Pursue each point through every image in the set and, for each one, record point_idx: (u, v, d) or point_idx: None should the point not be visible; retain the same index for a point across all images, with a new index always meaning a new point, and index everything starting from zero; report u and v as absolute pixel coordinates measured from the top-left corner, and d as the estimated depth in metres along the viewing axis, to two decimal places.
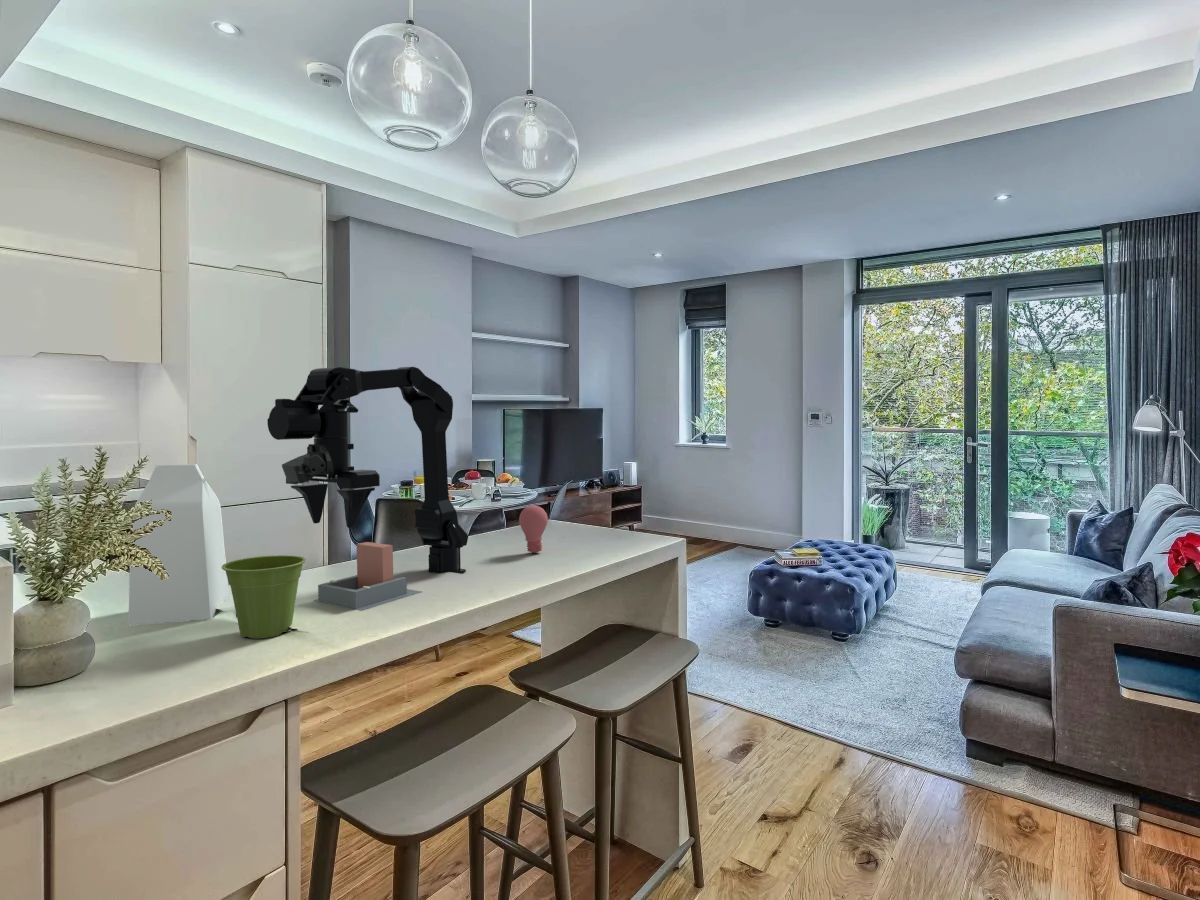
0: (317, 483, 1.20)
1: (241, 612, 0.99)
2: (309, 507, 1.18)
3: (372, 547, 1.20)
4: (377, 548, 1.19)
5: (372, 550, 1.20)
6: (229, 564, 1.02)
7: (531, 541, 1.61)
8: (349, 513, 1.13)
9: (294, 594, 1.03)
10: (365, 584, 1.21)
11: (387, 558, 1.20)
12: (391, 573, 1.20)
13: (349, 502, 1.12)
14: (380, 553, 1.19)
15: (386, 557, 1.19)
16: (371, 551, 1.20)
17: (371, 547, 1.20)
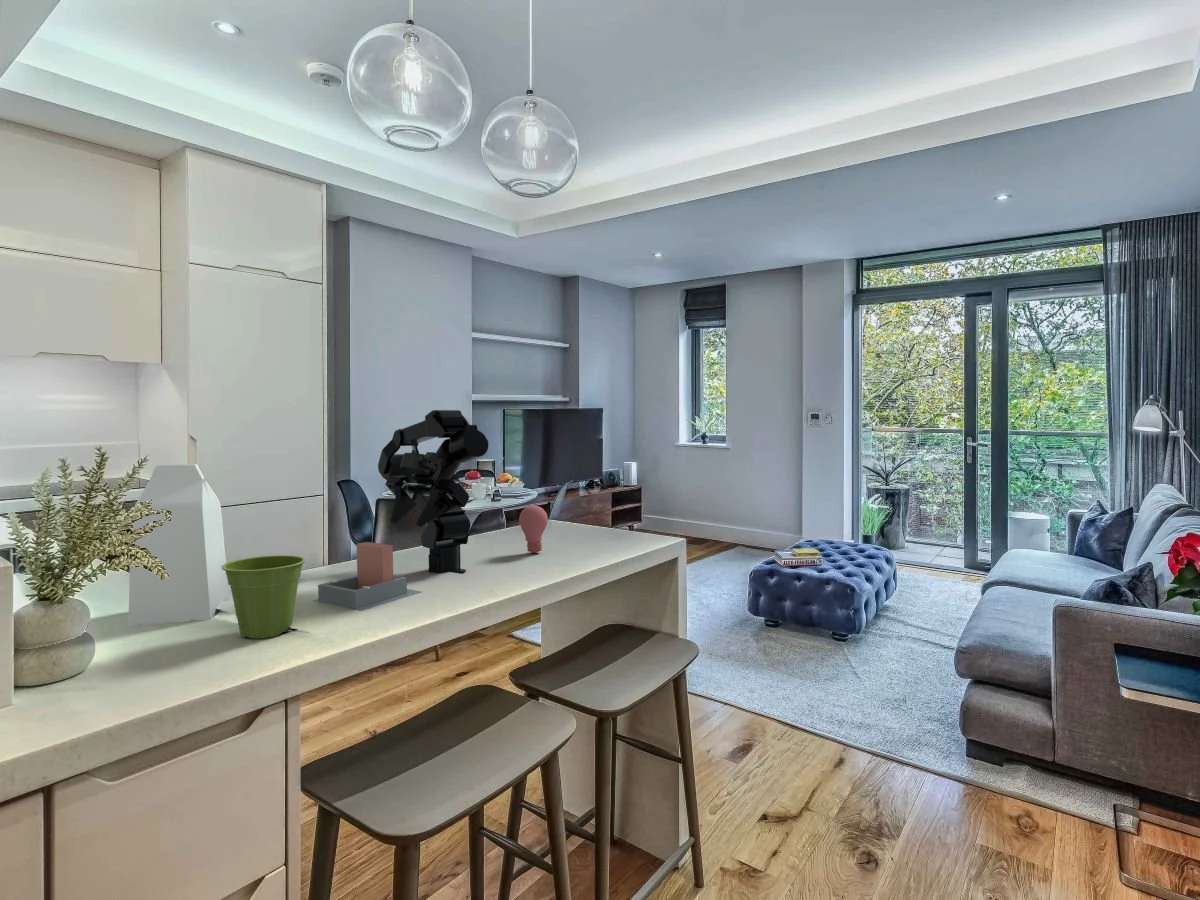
0: (410, 497, 1.35)
1: (241, 612, 0.99)
2: (395, 507, 1.31)
3: (372, 547, 1.20)
4: (377, 548, 1.19)
5: (372, 550, 1.20)
6: (229, 564, 1.02)
7: (531, 541, 1.61)
8: (425, 512, 1.26)
9: (294, 594, 1.03)
10: (365, 584, 1.21)
11: (387, 558, 1.20)
12: (391, 573, 1.20)
13: (432, 503, 1.27)
14: (380, 553, 1.19)
15: (386, 557, 1.19)
16: (371, 551, 1.20)
17: (371, 547, 1.20)
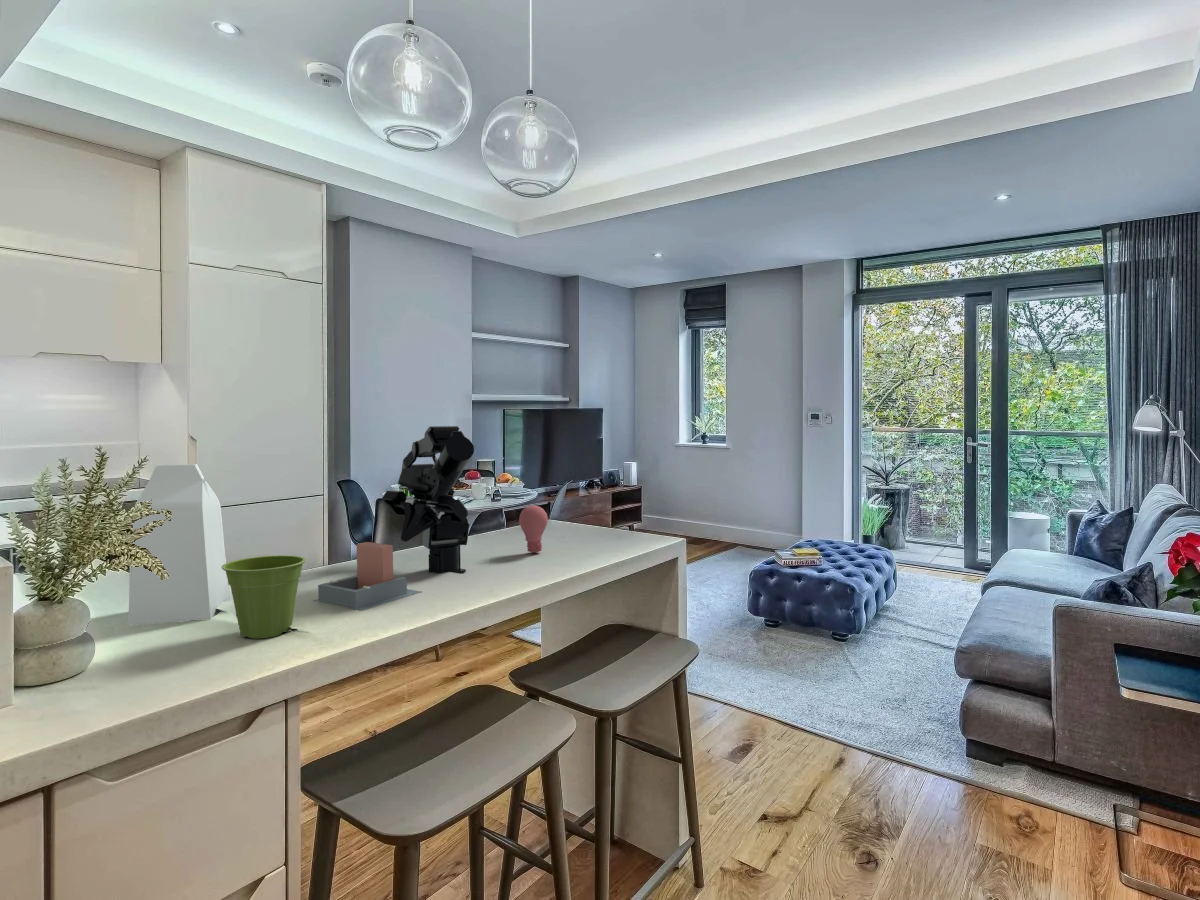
0: None
1: (241, 612, 0.99)
2: (405, 524, 1.28)
3: (372, 547, 1.20)
4: (377, 548, 1.19)
5: (372, 550, 1.20)
6: (229, 564, 1.02)
7: (531, 541, 1.61)
8: (411, 527, 1.27)
9: (294, 594, 1.03)
10: (365, 584, 1.21)
11: (387, 558, 1.20)
12: (391, 573, 1.20)
13: (418, 518, 1.28)
14: (380, 553, 1.19)
15: (386, 557, 1.19)
16: (371, 551, 1.20)
17: (371, 547, 1.20)
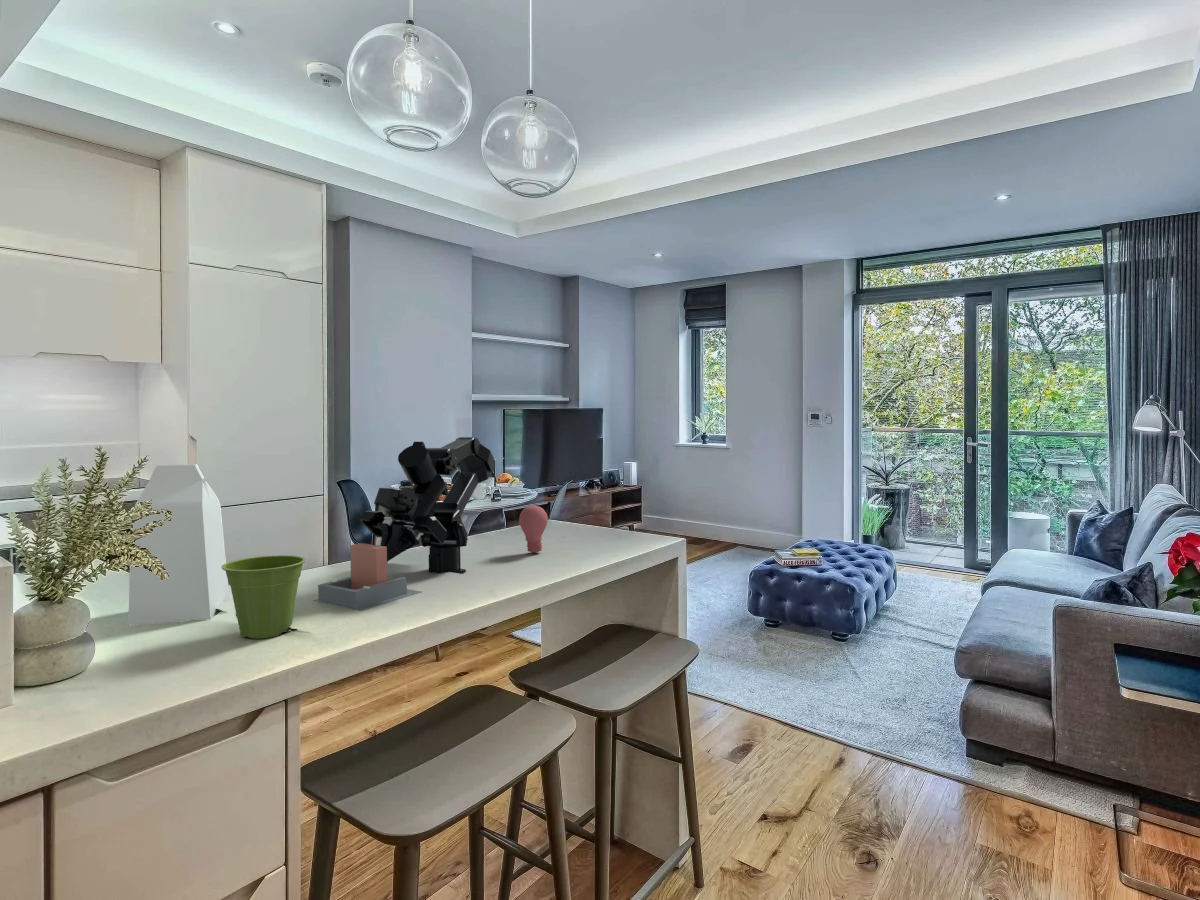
0: None
1: (241, 612, 0.99)
2: None
3: (366, 548, 1.19)
4: (371, 549, 1.18)
5: (366, 552, 1.19)
6: (229, 564, 1.02)
7: (531, 541, 1.61)
8: (388, 549, 1.23)
9: (294, 594, 1.03)
10: (358, 586, 1.20)
11: (381, 559, 1.18)
12: (385, 575, 1.19)
13: (395, 539, 1.23)
14: (374, 555, 1.18)
15: (380, 559, 1.18)
16: (364, 553, 1.19)
17: (365, 548, 1.19)
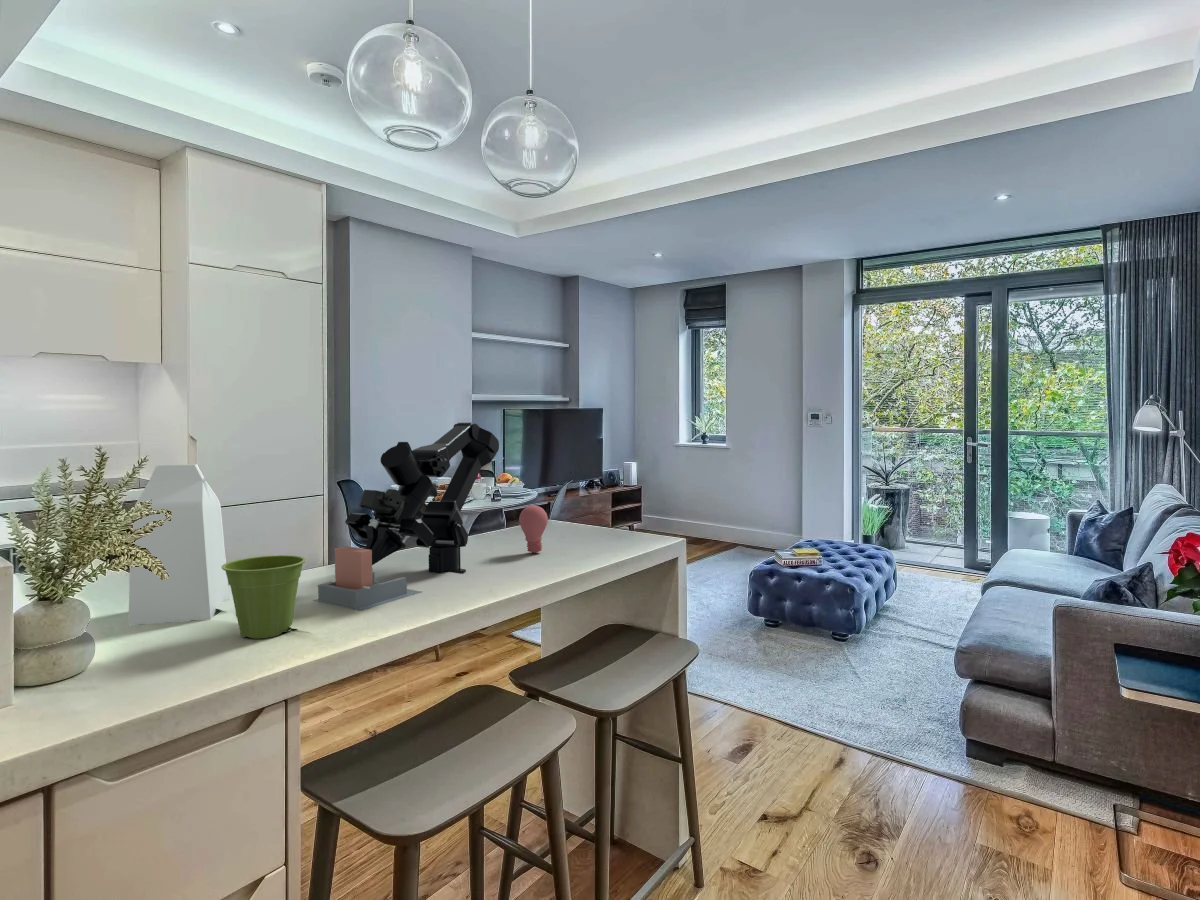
0: None
1: (241, 612, 0.99)
2: None
3: (350, 552, 1.16)
4: (355, 553, 1.15)
5: (351, 555, 1.16)
6: (229, 564, 1.02)
7: (531, 541, 1.61)
8: (373, 553, 1.20)
9: (294, 594, 1.03)
10: None
11: (366, 563, 1.15)
12: (370, 579, 1.16)
13: (380, 542, 1.20)
14: (358, 558, 1.15)
15: (365, 562, 1.15)
16: (349, 556, 1.16)
17: (349, 552, 1.16)
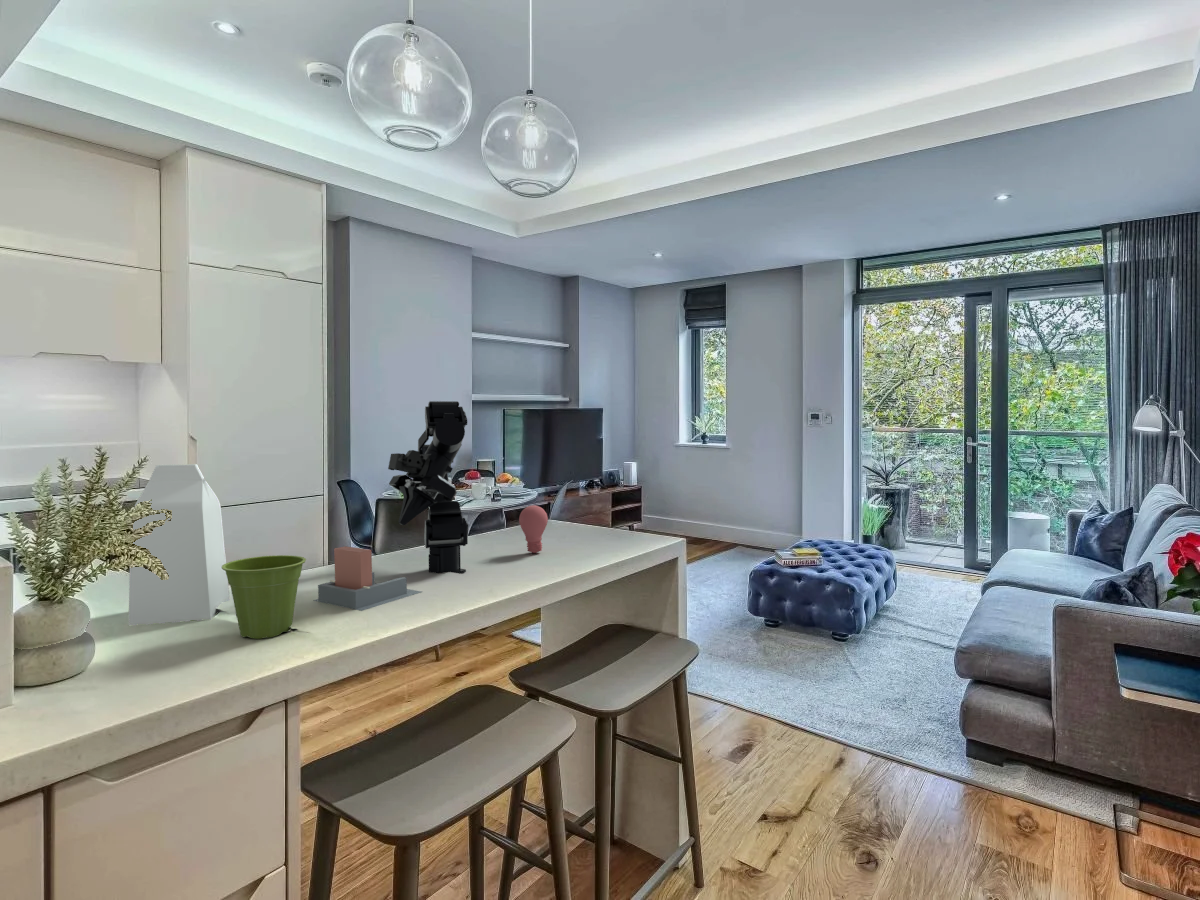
0: None
1: (241, 612, 0.99)
2: (402, 508, 1.30)
3: (350, 552, 1.16)
4: (355, 553, 1.15)
5: (350, 555, 1.16)
6: (229, 564, 1.02)
7: (531, 541, 1.61)
8: (406, 510, 1.29)
9: (294, 594, 1.03)
10: None
11: (366, 563, 1.15)
12: (370, 579, 1.16)
13: (411, 500, 1.29)
14: (358, 558, 1.15)
15: (364, 562, 1.15)
16: (349, 556, 1.16)
17: (349, 552, 1.16)
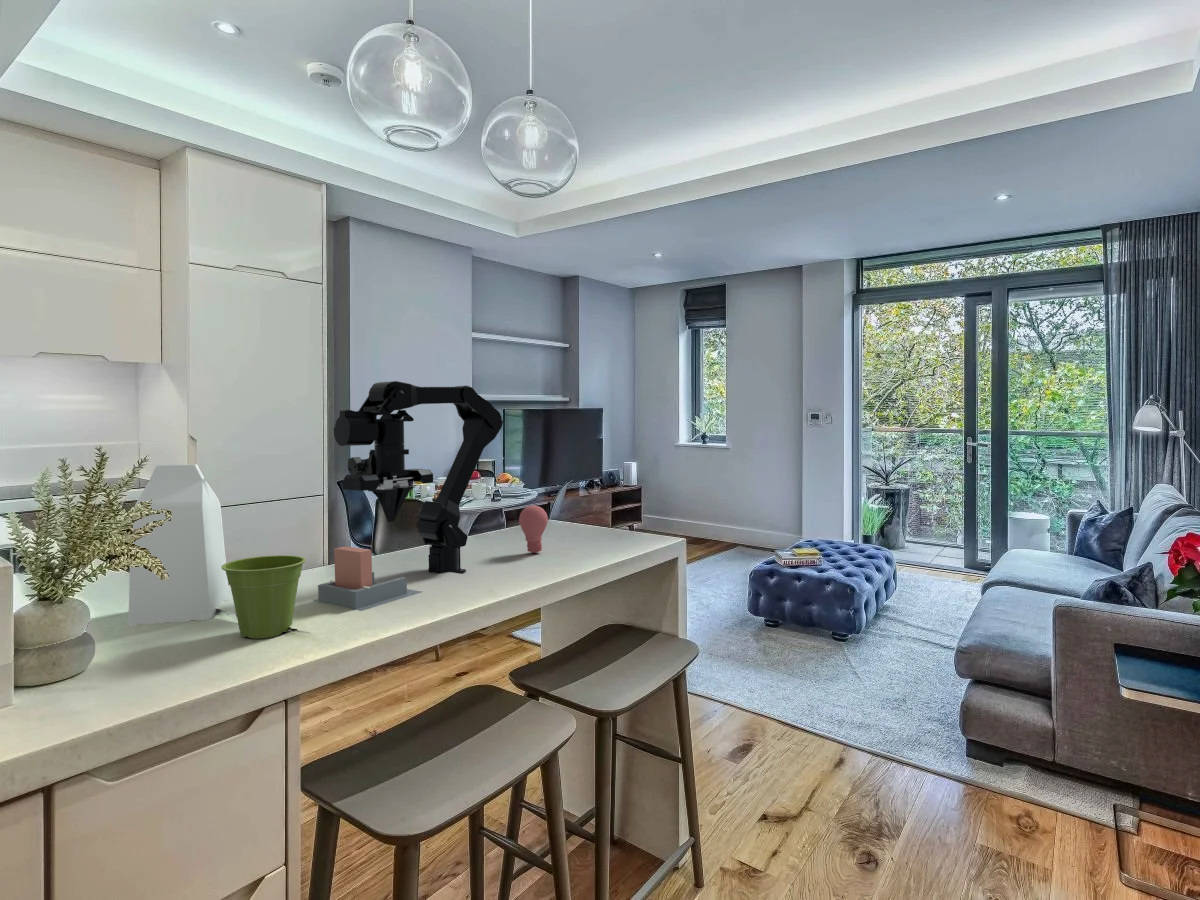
0: (398, 486, 1.31)
1: (241, 612, 0.99)
2: None
3: (350, 552, 1.16)
4: (355, 553, 1.15)
5: (350, 555, 1.16)
6: (229, 564, 1.02)
7: (531, 541, 1.61)
8: (384, 509, 1.30)
9: (294, 594, 1.03)
10: None
11: (366, 563, 1.15)
12: (370, 579, 1.16)
13: (378, 499, 1.30)
14: (358, 558, 1.15)
15: (364, 562, 1.15)
16: (349, 556, 1.16)
17: (349, 552, 1.16)
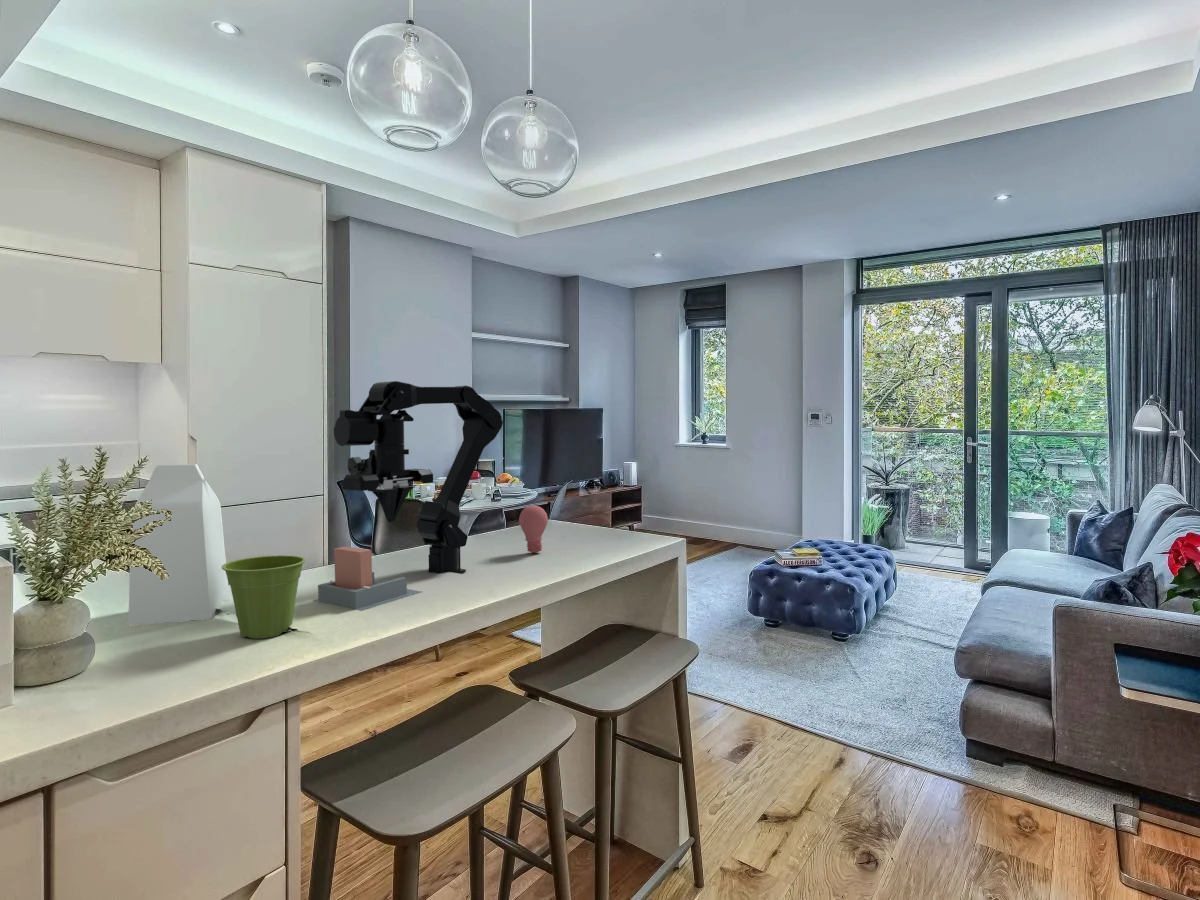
0: (398, 486, 1.31)
1: (241, 612, 0.99)
2: None
3: (350, 552, 1.16)
4: (355, 553, 1.15)
5: (350, 555, 1.16)
6: (229, 564, 1.02)
7: (531, 541, 1.61)
8: (384, 509, 1.30)
9: (294, 594, 1.03)
10: None
11: (366, 563, 1.15)
12: (370, 579, 1.16)
13: (378, 499, 1.30)
14: (358, 558, 1.15)
15: (364, 562, 1.15)
16: (349, 556, 1.16)
17: (349, 552, 1.16)
